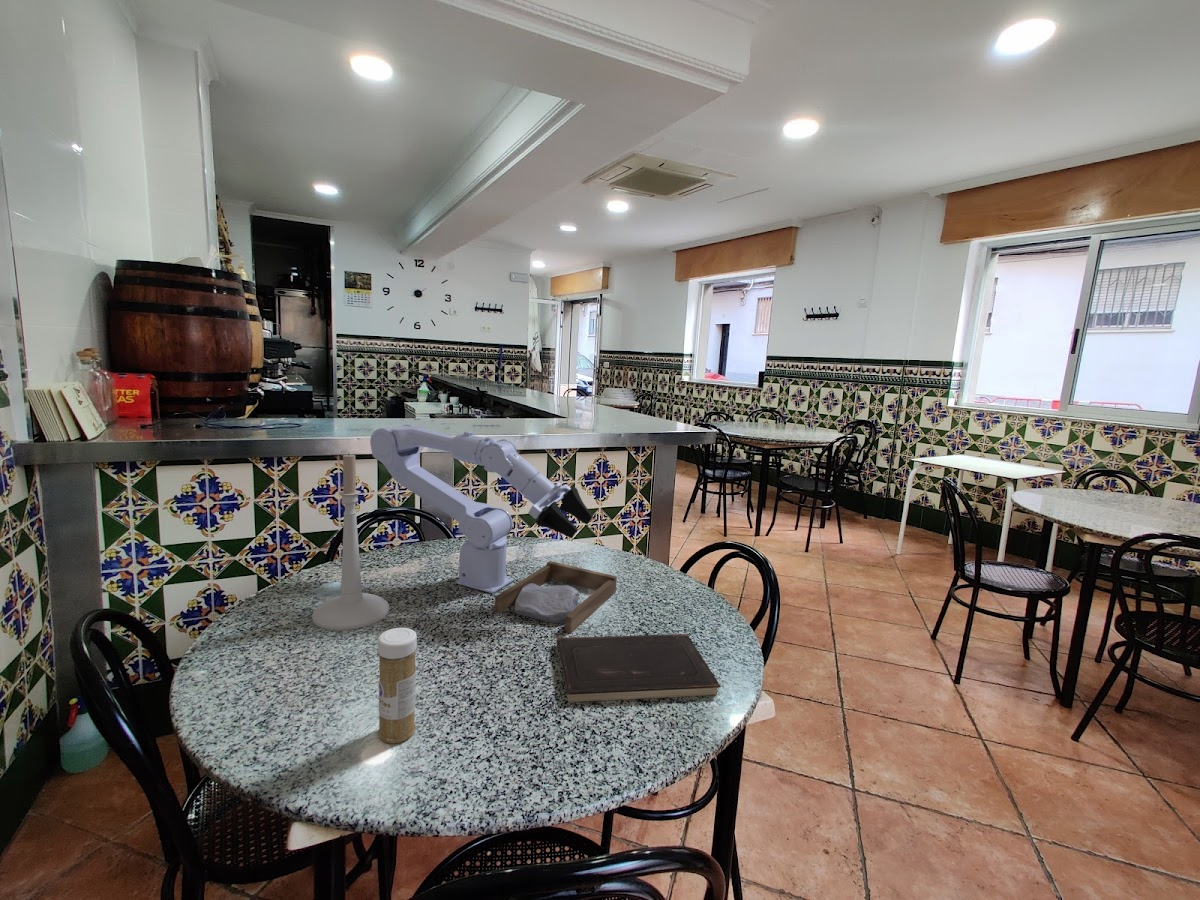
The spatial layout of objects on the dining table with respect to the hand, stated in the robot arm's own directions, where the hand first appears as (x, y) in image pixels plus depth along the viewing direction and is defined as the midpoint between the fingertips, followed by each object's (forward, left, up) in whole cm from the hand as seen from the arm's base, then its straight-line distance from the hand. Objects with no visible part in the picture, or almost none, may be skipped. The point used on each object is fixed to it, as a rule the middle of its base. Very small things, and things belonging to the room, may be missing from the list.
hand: (582, 527), depth 107 cm
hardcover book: (+18, -17, -16) cm, 30 cm away
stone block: (-4, -7, -16) cm, 18 cm away
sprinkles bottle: (-3, -46, -16) cm, 49 cm away
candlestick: (-34, -26, -16) cm, 46 cm away
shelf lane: (-4, -2, -16) cm, 16 cm away
